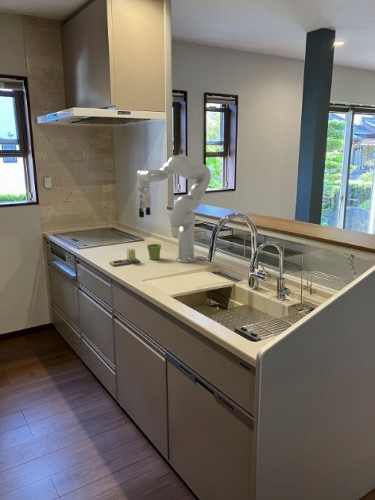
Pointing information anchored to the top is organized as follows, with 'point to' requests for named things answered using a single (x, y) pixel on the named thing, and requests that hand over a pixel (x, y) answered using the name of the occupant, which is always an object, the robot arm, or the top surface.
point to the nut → (131, 255)
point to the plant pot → (154, 251)
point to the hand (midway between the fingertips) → (145, 216)
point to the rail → (123, 262)
